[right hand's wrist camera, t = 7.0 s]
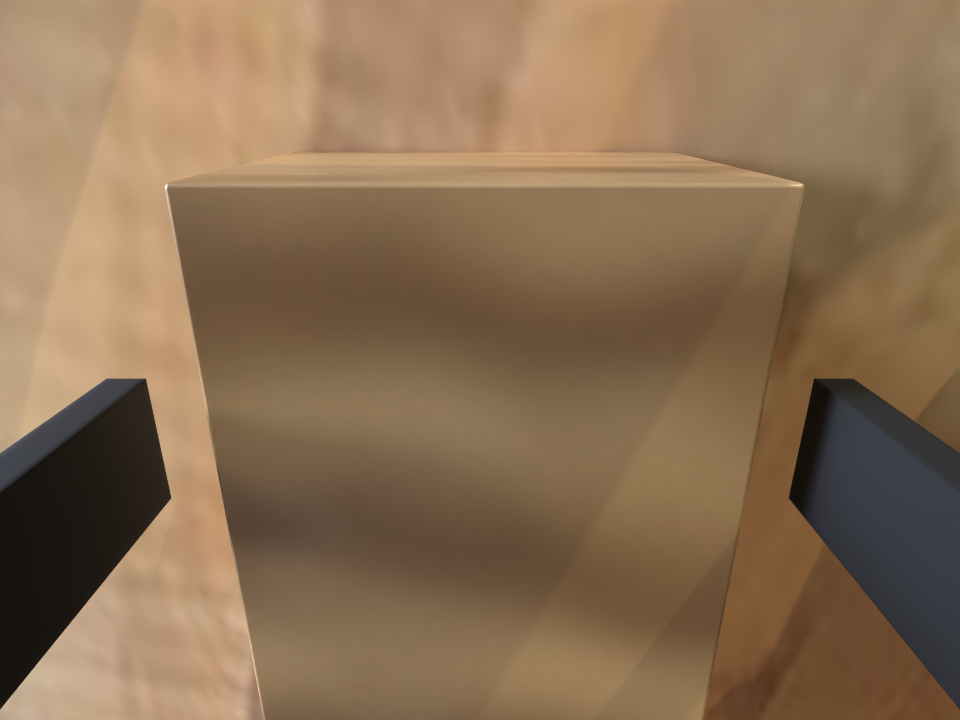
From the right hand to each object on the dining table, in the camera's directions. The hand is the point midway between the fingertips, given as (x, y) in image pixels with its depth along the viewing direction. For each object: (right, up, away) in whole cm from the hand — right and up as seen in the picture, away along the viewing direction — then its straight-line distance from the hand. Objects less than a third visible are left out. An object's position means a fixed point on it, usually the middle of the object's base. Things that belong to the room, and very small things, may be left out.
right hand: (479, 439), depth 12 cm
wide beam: (0, -26, +17) cm, 31 cm away
